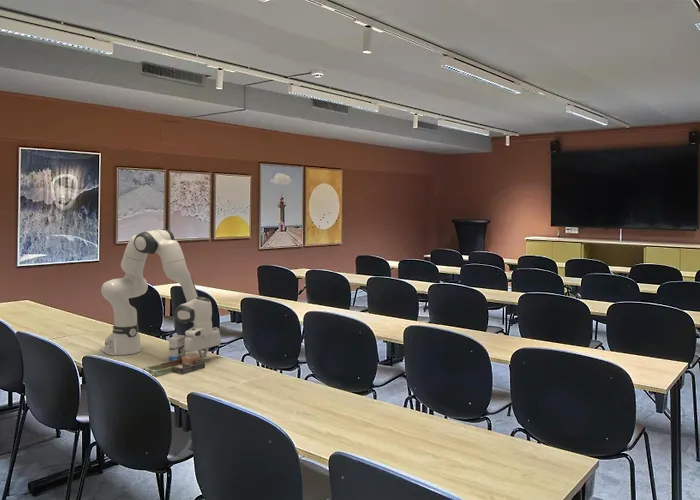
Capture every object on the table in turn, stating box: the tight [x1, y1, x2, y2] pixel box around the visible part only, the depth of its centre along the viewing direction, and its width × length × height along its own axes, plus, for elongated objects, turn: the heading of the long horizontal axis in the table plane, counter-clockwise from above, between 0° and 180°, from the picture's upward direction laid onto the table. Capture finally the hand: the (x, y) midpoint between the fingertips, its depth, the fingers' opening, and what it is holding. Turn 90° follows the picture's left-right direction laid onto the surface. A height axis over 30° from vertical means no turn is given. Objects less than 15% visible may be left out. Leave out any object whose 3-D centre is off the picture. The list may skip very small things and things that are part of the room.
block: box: [181, 353, 200, 366], centre depth 282 cm, size 5×6×4 cm
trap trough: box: [143, 358, 206, 378], centre depth 272 cm, size 15×26×2 cm, turn 145°
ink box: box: [168, 334, 187, 362], centre depth 288 cm, size 8×5×12 cm, turn 168°
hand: (203, 357), depth 288 cm, fingers closed
